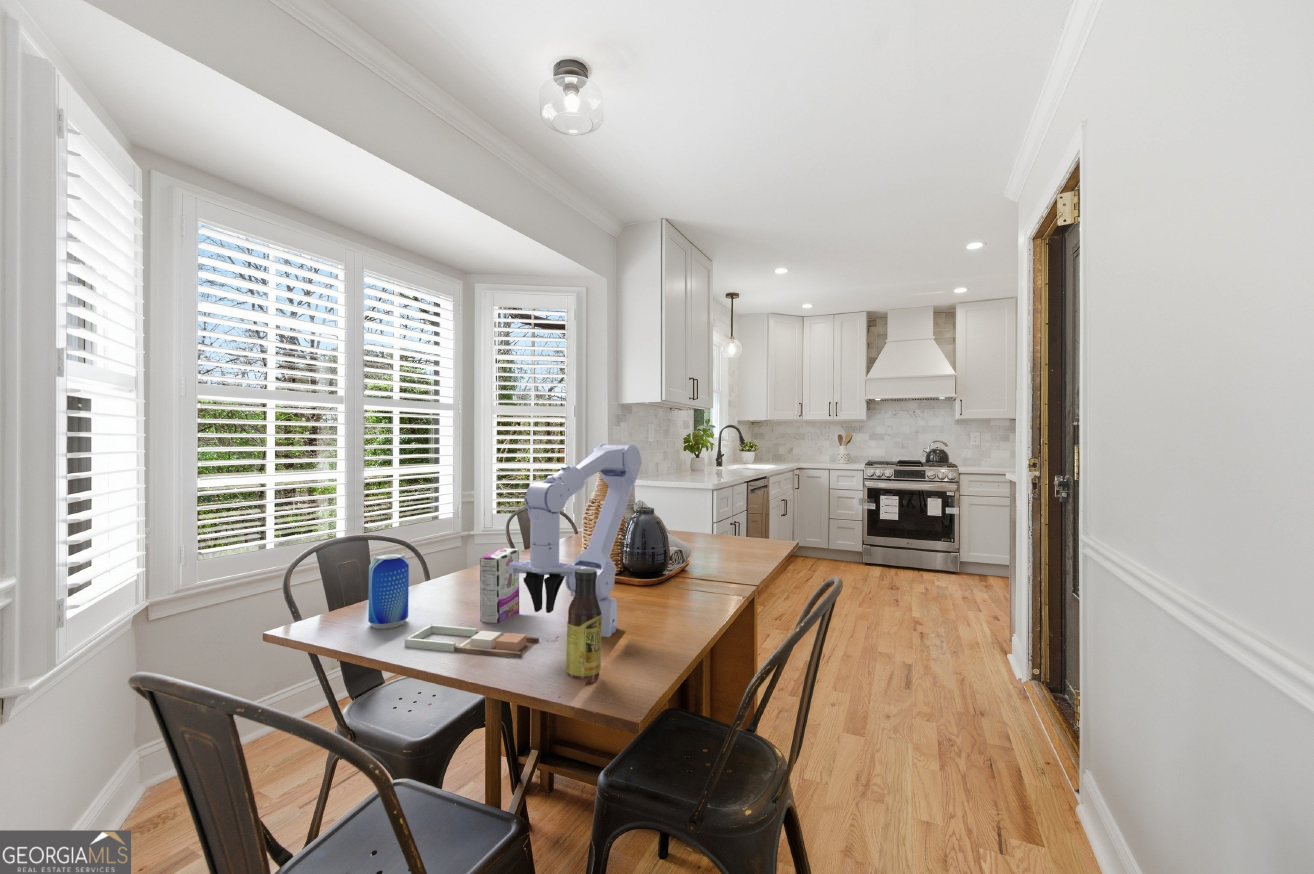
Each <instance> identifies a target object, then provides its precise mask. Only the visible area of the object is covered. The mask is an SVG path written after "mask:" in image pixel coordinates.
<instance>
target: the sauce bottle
mask: <svg viewBox="0 0 1314 874" xmlns="http://www.w3.org/2000/svg"><path fill="white" fill-rule="evenodd" d="M596 578H597V571H596V570H595V569H590V568H584V569H577V570H575V579H576V586H575V597H574V599H573V598H572V600H571V602H570V604H569V606H568V612H567V613H568V614H567V617H568V618H567V624H566V625H567V629H566V630H567V631H566V657H565V658H566V659H565V660H566V661H565V671H566V673H567V676H568V677H571V678H574V679H578V680H580V679H585V680H586V679H588V680H587V681H586V683H584V685H585V686H587V685H592V684H594V683H597V681H598V680H599V678H600V672H601V669H602V668H601V667H602V665H601V664H602V661H601V660H602V659H601V658H602V636H601V629H602V613H601V609H600V606H599V603H598V600H597V596H596Z"/></svg>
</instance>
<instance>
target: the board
mask: <svg viewBox="0 0 1314 874" xmlns="http://www.w3.org/2000/svg"><path fill="white" fill-rule="evenodd" d="M479 632H480V631H477V633H475V635H476V634H478V633H479ZM504 634H505V633H502V636H503V635H504ZM539 642H540V638H539V637H537V636H536V637H535V636H527V635H526V645H525V646H524V647H523V648H521V649H520V650H519V651H518V652H515V651H505V650H496V647H494V648H493V649H484V648H474V647H470V641H469V642H467V643H466V644H464V645H463V646H460V645H456V646H455V647H454V651H453V652H455V653H456V652H457V653H466V654H473V655H474V654H476V655H486V656H495V657H503V658H504V657H505V658H514V659H515V658H516V659H520V658H522V657H523V656H524V655H526V653H528V652H529V651H530V650H531V649H532V648H533V647H535V646H536V645H537V644H538V643H539Z"/></svg>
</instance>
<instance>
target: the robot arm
mask: <svg viewBox="0 0 1314 874" xmlns="http://www.w3.org/2000/svg"><path fill="white" fill-rule="evenodd" d="M639 449H640V448H638V446H637V445H636V444H629V445H625V444H607V443H602V444H599V445H598V446H597V447H594V448H593V450H592V451H593V452H592V453H590V455H588V456H587V457H586V458H584V459H583V460H582V461H581V462H580V463H579V464H577V465H576V466H574V465H569V464H563V465H562V466H561V467H560V470H559V471H557V472H556V473H554V474H552V475H548V476H546V478H545V480H543V481H541V482H538V481H537V482H533V483H532V484H531V485H530V486H529V487H528V488H527V490H526V492H525V496H524V497H523V502H524V505H525V507H526V509H527V513H528V514H527V516H528V518H529V520H530V523H529V524H530V529H529V530H530V532H529V533H530V535H529V536H530V537H529V538H530V539H529V541H530V542H529V546H530V547H529V561H519V562H512V563H510V564H509V573H512V574H513V573H519V574H525V577H523V580H522V581H523V583H524V585H525V586H526V588H527V591H528V592H529V595H530V598H531V602H532V605H533V608H534V612H535V613H538V612H540V611H541V610H543V587H545V596H546V597H545V612H546V614H550V613H552V612H553V611H554V607H555V605H556V603H555V602H556V599H557V596H558V593H559V590H560V588H561V586H562V584H563V581H564V580H565V586H566V588H567V590H568V591H569V592H570V596H571V597H572V600H573V599H574V597H575V586H576V579H575V570H577V569H584V568H590V569H595V570H596V571H597V578H596V596H597V600H598V603H599V606H600V609H601V613H602V629H601V638H602V637H603V638H610V637H611V636H612V635H613V634H614V633H616V630H617V629H618V602H617V599H616V598H612V597H610V595H611V593H612V591H613V590H614V586H615V577H616V573H617V566H616V565H615V562H614V561H613V559H612V558H611V557H610V556H611V554H612V550H613V549H614V544H615V542H616V540H617V539H616V538H617V535H618V532H619V530H620V526H621V524H622V522H623V521H622V520H623V519H624V515H625V512H626V509H627V507H628V503H629V501H630V500H629V499H630V497H631V493H632V490H633V487H634V485H635V483H636V481H637V478H638V475H639V472H640V469H641V466H642V463H643V462H642V457H641V453H640V450H639ZM598 473H599V474H600V477H601V478H602V481H603V482H604V483H606V484H607V486H608V490H607V492H606V496H605V499H604V500H603V503H602V505H601V510H600V512H599V515H598V518H597V519H596V520H597V521H596V523H595V525H594V529H593V532H592V535H591V538H590V540H589V543H588V546H587V548H586V550H584V551H582V552H581V553H579V554H577V555H576V556H575V557H574V560H573V562H572V564H568V563H562V562H560V531H561V529H560V528H561V526H560V525H561V523H560V522H561V520H560V519H561V517H560V515H561V513H560V512H562V511H563V509H565V506H566V503H567V501H568V500H569V499H570V497H573V496H574V495H575V494H576V493H578V492H579V491H581V489H583V488H584V486H585V483H586V480H587V479H589V478H591V477H592V476H594V475H595V474H598ZM545 576H547V577H545Z"/></svg>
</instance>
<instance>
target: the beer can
mask: <svg viewBox="0 0 1314 874" xmlns="http://www.w3.org/2000/svg"><path fill="white" fill-rule="evenodd" d="M409 564H410V563H409V562H408V560H407V559H406V557H405V553H402V552H383V553H377V554H375V555H373V559H372V561H371V562H370V565H368V608H367V609H368V613H367V614H368V616H367V617H368V618H367V619H368V623H369V624H370V625H371V627H372V628H374V629H377V630H386V629H394V628H398V627H401V626H403V625H404V624H405V623H406V620H407V619H408V618H409V597H410V596H409V593H410V592H409V591H410V589H409V587H410V586H409V585H410V581H409V580H410V579H409V578H410V576H409V575H410V573H409V571H410V565H409Z"/></svg>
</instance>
